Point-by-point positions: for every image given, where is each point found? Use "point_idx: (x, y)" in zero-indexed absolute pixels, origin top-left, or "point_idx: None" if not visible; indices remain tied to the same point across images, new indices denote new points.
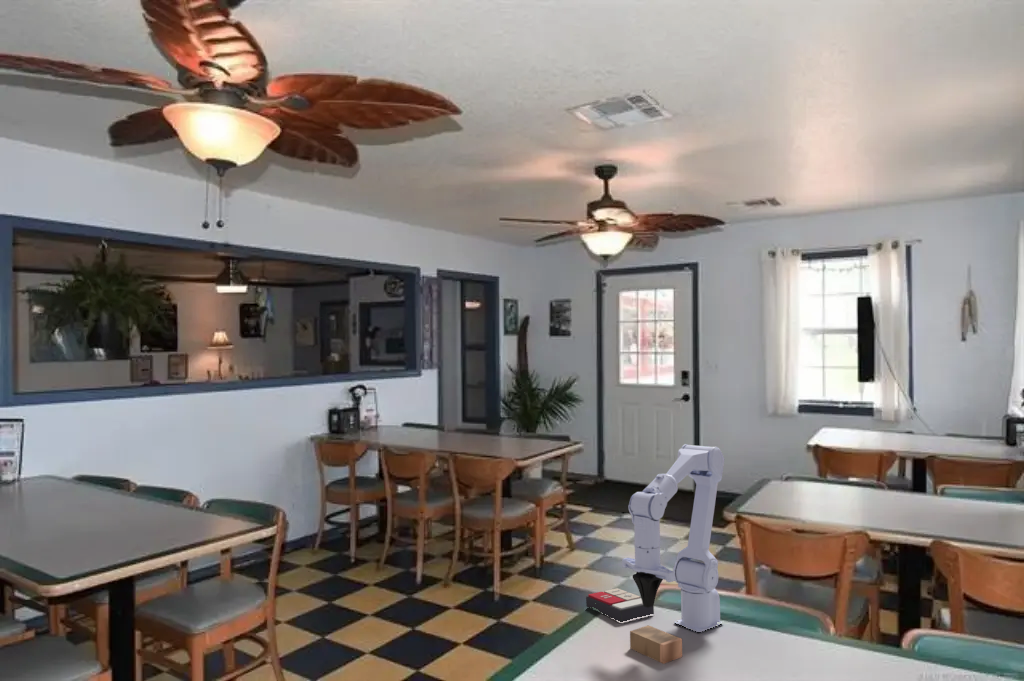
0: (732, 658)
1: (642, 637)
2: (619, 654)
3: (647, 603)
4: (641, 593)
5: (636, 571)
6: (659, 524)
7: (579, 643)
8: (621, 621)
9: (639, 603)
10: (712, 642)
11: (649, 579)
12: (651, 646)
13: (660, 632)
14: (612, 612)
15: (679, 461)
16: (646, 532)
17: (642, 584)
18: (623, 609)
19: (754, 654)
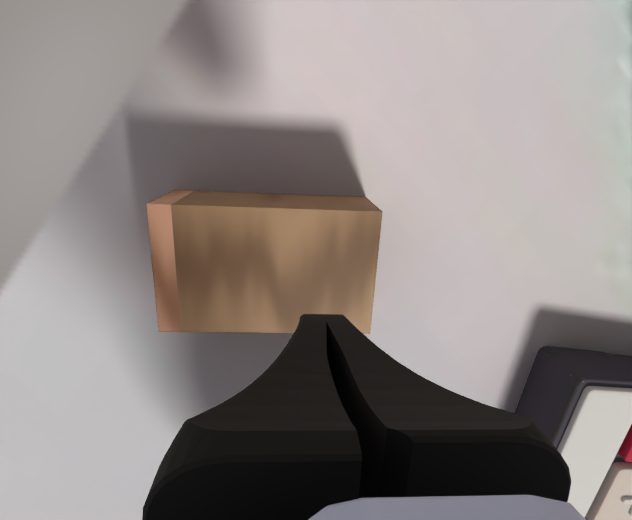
0: (71, 413)
1: (294, 208)
2: (357, 112)
3: (298, 326)
4: (361, 351)
5: (398, 501)
6: None
7: (563, 56)
8: (547, 353)
9: None
10: None
11: (150, 495)
12: (235, 201)
13: (273, 312)
14: (613, 367)
15: None
16: None
17: (328, 398)
18: (576, 394)
19: (59, 483)
